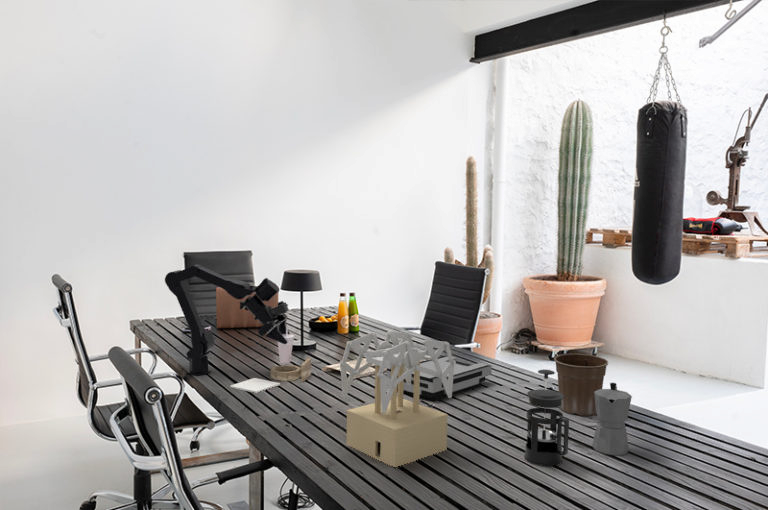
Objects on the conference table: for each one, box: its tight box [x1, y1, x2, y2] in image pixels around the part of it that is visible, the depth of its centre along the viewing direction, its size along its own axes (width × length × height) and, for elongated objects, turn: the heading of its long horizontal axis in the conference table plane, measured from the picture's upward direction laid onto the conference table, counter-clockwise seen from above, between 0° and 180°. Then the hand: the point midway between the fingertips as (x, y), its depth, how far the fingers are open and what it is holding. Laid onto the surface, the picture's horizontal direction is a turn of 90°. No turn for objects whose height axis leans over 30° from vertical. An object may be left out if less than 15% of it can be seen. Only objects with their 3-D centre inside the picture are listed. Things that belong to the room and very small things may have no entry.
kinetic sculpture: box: [338, 330, 456, 468], centre depth 175 cm, size 25×20×30 cm
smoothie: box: [277, 323, 295, 364], centre depth 241 cm, size 6×6×14 cm
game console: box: [386, 354, 493, 402], centre depth 232 cm, size 21×32×8 cm, turn 136°
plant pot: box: [553, 353, 609, 416], centre depth 208 cm, size 16×16×16 cm
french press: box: [524, 369, 570, 467], centre depth 168 cm, size 12×9×23 cm
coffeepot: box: [591, 382, 633, 456], centre depth 177 cm, size 15×9×18 cm, turn 159°
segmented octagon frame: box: [270, 357, 312, 382], centre depth 242 cm, size 13×10×6 cm
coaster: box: [229, 377, 281, 394], centre depth 230 cm, size 12×12×1 cm
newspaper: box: [321, 357, 424, 380], centre depth 259 cm, size 37×19×3 cm, turn 133°
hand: (288, 341), depth 241 cm, fingers closed on smoothie, 6 cm apart
